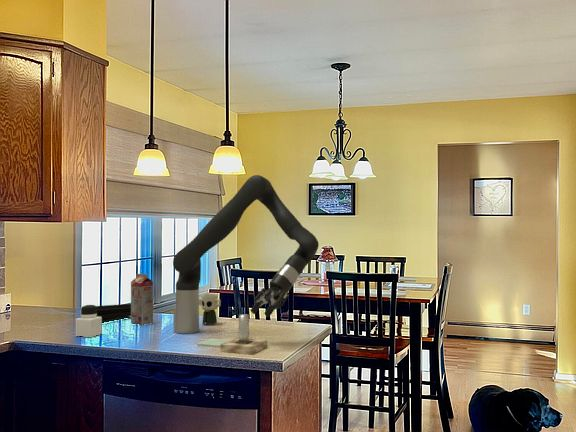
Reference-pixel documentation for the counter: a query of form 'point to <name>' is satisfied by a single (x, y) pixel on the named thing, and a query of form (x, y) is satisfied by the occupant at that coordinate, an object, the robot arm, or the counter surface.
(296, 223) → the robot arm
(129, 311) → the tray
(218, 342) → the mat
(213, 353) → the counter surface
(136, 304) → the juice carton
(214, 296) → the big headed toy figurine
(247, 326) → the peg
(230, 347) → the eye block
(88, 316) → the medicine bottle
